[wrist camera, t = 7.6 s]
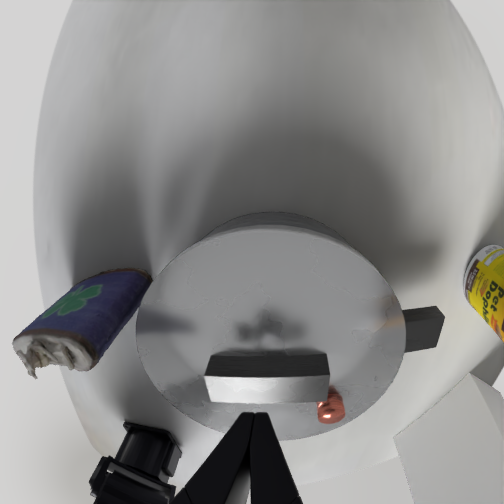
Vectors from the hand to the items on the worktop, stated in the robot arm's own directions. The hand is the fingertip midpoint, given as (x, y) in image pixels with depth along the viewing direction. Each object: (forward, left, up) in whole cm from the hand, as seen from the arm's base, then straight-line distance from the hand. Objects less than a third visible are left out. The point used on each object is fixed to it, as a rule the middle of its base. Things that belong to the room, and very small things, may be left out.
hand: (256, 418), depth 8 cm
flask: (-13, -1, -12) cm, 18 cm away
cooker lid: (0, -3, -7) cm, 7 cm away
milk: (+22, -22, -12) cm, 33 cm away
